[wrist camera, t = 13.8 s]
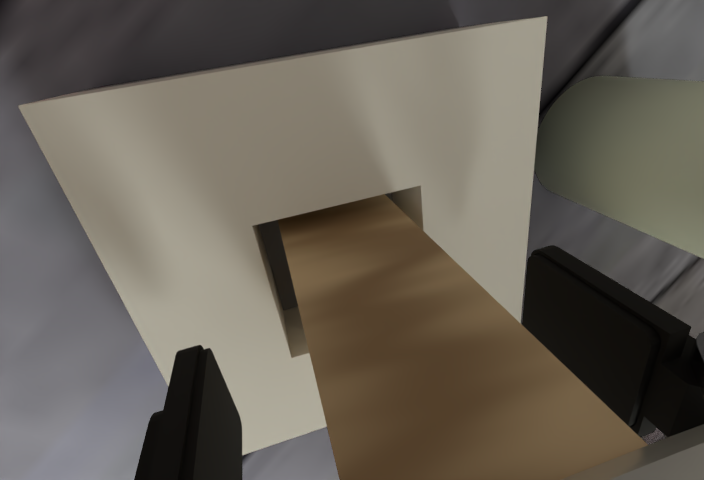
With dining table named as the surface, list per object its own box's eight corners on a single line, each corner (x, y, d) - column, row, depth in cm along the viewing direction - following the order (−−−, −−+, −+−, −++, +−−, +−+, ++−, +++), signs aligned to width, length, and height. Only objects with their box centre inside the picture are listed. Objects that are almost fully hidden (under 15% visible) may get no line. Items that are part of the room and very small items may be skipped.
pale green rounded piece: (645, 65, 18) (943, 73, 11) (622, 181, 21) (844, 255, 14) (538, 87, 17) (781, 114, 10) (528, 206, 20) (710, 301, 12)
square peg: (373, 183, 15) (672, 468, 5) (382, 267, 17) (610, 603, 7) (274, 205, 14) (367, 594, 4) (295, 290, 16) (396, 706, 6)
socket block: (460, 26, 15) (547, 15, 11) (461, 301, 22) (517, 362, 18) (91, 88, 13) (17, 105, 9) (217, 374, 20) (210, 465, 15)
